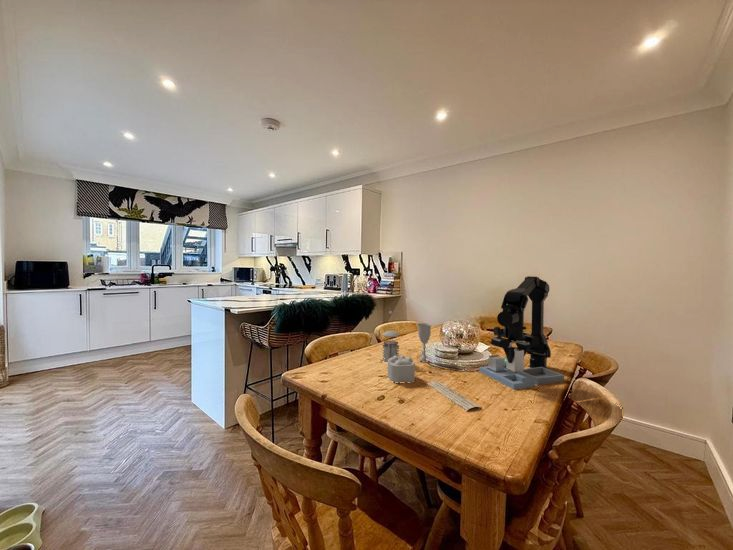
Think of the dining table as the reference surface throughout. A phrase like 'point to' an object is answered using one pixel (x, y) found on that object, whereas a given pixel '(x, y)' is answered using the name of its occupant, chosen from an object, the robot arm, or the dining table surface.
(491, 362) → the block
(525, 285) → the robot arm
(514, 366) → the block
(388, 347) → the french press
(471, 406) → the grooved grey strip
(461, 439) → the dining table surface
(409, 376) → the fruit punnet
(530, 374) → the tray
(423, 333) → the chalice
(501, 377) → the pallet
